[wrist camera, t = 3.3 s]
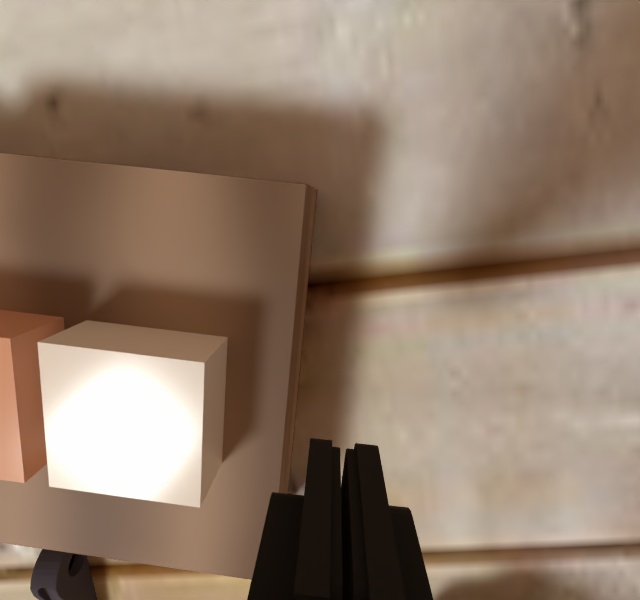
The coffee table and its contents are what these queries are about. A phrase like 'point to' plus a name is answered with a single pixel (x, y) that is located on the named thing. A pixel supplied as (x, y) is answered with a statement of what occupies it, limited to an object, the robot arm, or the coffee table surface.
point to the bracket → (62, 577)
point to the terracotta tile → (22, 393)
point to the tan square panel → (169, 314)
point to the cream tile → (133, 411)
